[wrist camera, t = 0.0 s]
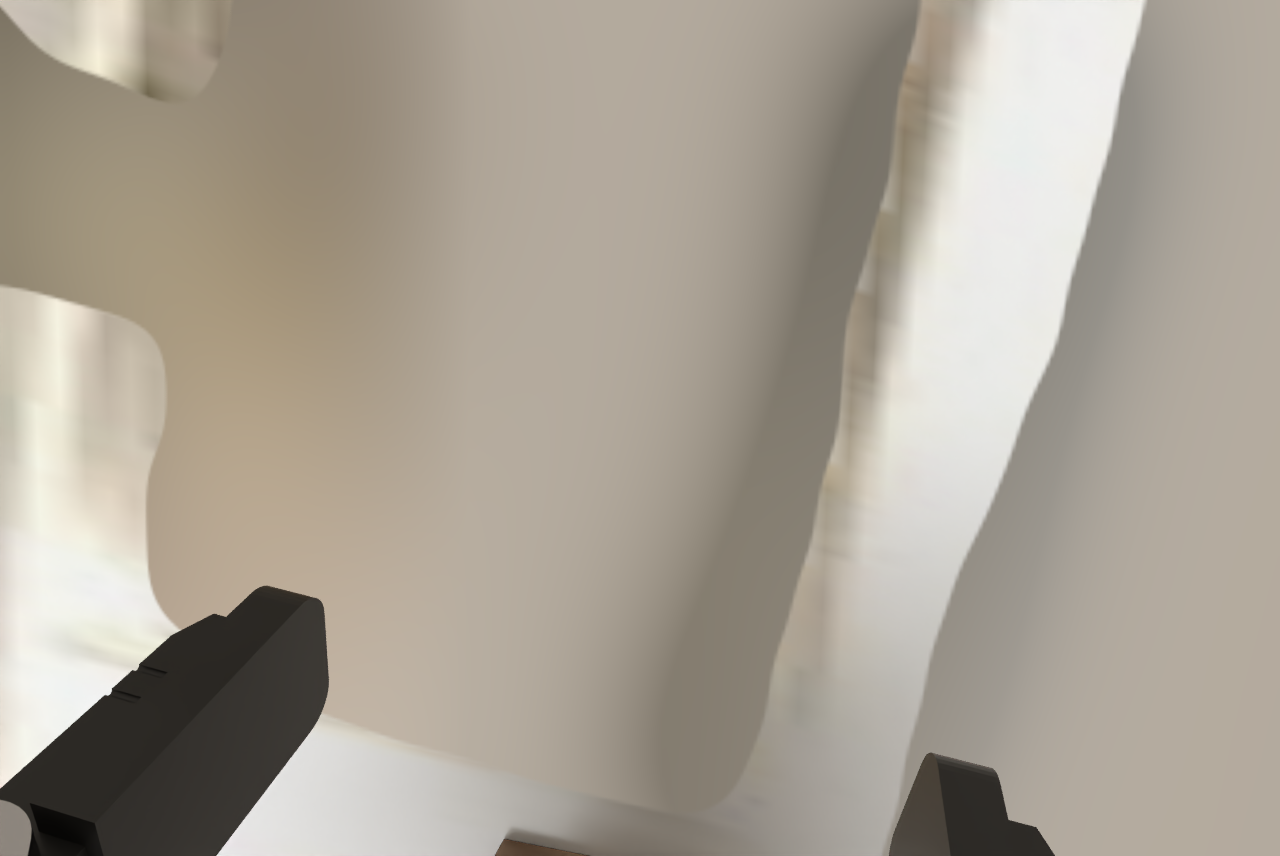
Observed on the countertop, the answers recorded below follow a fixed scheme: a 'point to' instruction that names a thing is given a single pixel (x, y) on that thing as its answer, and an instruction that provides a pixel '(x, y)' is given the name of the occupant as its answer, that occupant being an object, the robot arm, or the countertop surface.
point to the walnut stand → (529, 850)
